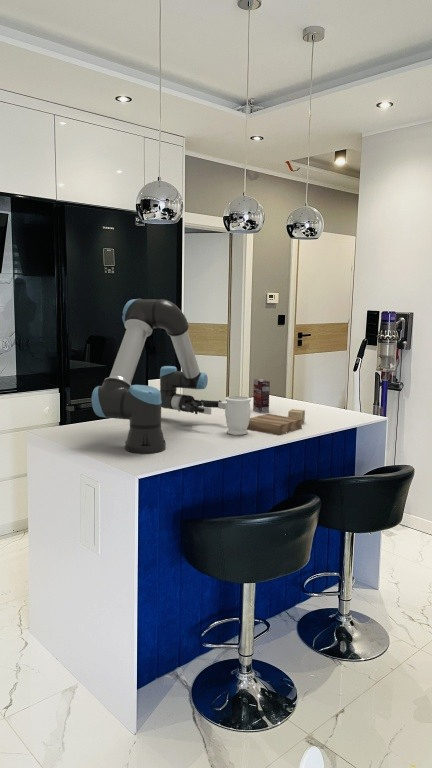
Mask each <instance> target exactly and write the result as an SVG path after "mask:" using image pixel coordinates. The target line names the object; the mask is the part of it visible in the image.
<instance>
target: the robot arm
mask: <svg viewBox="0 0 432 768" xmlns="http://www.w3.org/2000/svg"><path fill="white" fill-rule="evenodd" d="M121 316H122V317H121V318H122V322H123V324H124V328H125V329H126V330H125V333H124V336H123V338H122V341H121V344H120V347H119V348H118V351H117V354H116V357H115V359H114V362H113V366H112V369H111V372H110V374H109V377H106V378H104V380H103V382H102V385H97V386H95V387H94V389H93V391H92V393H91V407H92V409H93V412H94V414H95V415H96V416H98V417H100V418H106V419H118V420H129V430H128V433H127V437H126V440H125V441H124V449H125V451H127V452H130V453H133V454H135V453H136V454H153V453H159V452H163V451H165V450H166V448H167V447H166V445H167V444H166V440H165V437H164V434H163V429H162V408H163V409H166V410H167V409H168V410H175V411H177V412H178V413H180V412H183V413H191V414H193V413H194V415H198V414H203V415H210V416H211V415H212V408H213V409H214V408H215V409H216V408H217V409H220V410H225V408H226V403H227V402H223V401H222V400H220V399H219V400H206V399H200V400H199V399H195V397H194V396H192V395H188V394H184V393H177V389H189V390H205V389H206V388H207V386H208V380H209V379H208V375H207V373H206V372H201V371H200V369H199V364H198V360H197V358H196V355H195V351H194V348H193V344H192V341H191V338H190V335H189V322H188V319H187V317H186V316H185V314H184V312H183V311H182V310H181V309H180V308H179V307H178V305H176V304H175V303H173V302H172V301H170V300H168V299H150V298H149V299H148V298H147V299H142V298H136V299H130V300H127V302H126V304H125V305H124V307H123V309H122V315H121ZM154 329H163V330H165V332H166V334H167V336H170V339H171V341H172V342H171V343H172V345H173V348H174V350H175V351H174V352H175V354H176V357H177V360H178V362H179V365H180V368H181V370H178V368H177V367H176V366H174V365H173V366H172V365H163V366H161V368H160V371H159V372H160V373H159V389H158V388H157V387H155V386H151V385H144V384H132V381H133V379H134V375H135V373H136V369H137V366H138V363H139V360H140V357H141V355H142V351H143V349H144V346H145V342H146V340H147V338H148V337H150V336H151V335H152V334H153V330H154Z"/></svg>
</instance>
